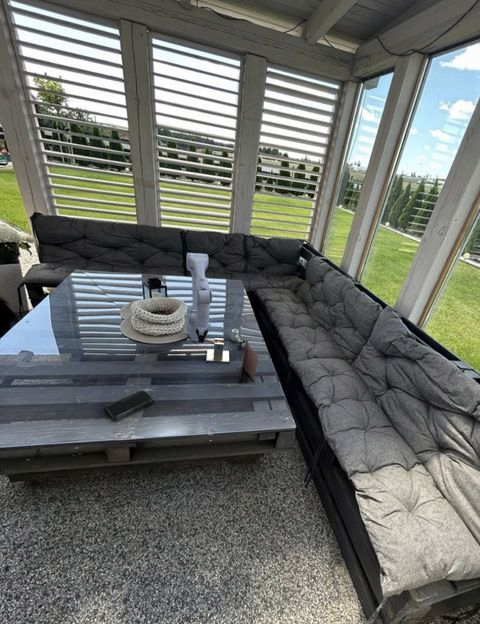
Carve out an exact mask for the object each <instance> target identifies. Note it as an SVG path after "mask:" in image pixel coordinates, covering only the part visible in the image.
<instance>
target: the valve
mask: <svg viewBox="0 0 480 624" xmlns="http://www.w3.org/2000/svg"><path fill="white" fill-rule="evenodd" d="M239 335H240V330H238V329H236V328H234V329H232V330H231V333H230V340H231V342H234V343H236V342H237V343H238V344H237V345H236V346H237V349H238V351H241V350H242V351H243V346H244V349H245V345H246V343H247V344H248V345H249V346H250V344H249V343H248V342H249V341H248V339H246V340H245V339H241V337H240V336H239Z"/></svg>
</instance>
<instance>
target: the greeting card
mask: <svg viewBox="0 0 480 624" xmlns="http://www.w3.org/2000/svg"><path fill="white" fill-rule="evenodd" d="M247 343H248V342H247ZM247 343H245V348H244V346H242V347H243V350H242V358H241V359H242V360H241V362H242V363H241V367H240V371H239V378H241V377H242V371H243V369H244V371H245V372H246V373H247V375H249V377H250V378H251V380H252V381H255V378H256V372H257V368H258V363H259V357H260V356H259V354H258V353H256V351H255V350H254V349H253V348H252V347H251V346H250V344H249V343H248V344H249V345H248V344H247Z"/></svg>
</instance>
